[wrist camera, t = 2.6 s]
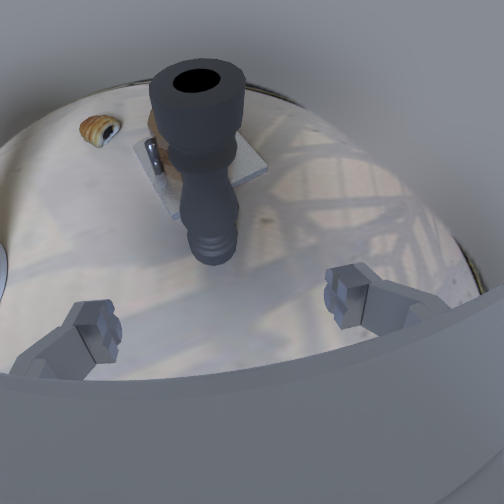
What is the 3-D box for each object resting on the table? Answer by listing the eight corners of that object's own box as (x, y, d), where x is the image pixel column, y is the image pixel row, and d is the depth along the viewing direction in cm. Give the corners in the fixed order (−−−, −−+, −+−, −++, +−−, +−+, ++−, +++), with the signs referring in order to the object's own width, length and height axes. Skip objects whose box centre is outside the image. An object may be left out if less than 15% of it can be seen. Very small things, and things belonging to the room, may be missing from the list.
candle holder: (181, 245, 36) (125, 89, 13) (212, 214, 38) (201, 49, 15) (214, 275, 35) (191, 128, 12) (246, 242, 37) (272, 79, 14)
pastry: (74, 139, 42) (67, 126, 39) (97, 116, 45) (92, 104, 41) (101, 152, 41) (94, 138, 38) (125, 127, 44) (120, 113, 40)
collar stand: (173, 220, 37) (158, 179, 28) (134, 151, 41) (119, 108, 32) (266, 171, 41) (276, 125, 32) (215, 114, 45) (215, 70, 36)
